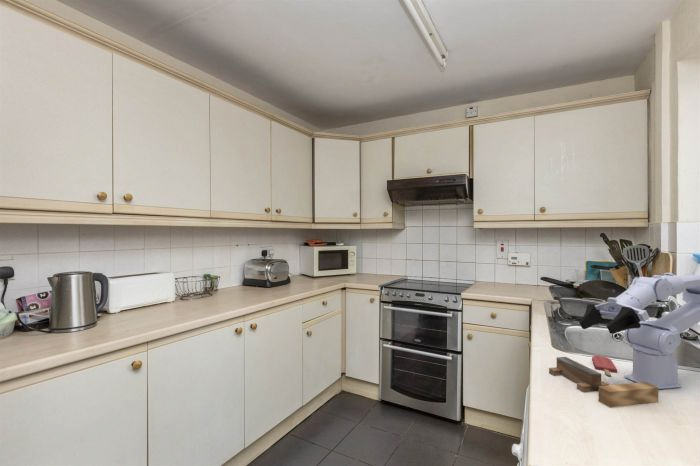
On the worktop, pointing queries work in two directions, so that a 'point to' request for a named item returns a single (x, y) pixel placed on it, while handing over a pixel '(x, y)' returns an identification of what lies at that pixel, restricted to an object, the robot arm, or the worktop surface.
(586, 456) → the worktop surface
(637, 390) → the oak bar
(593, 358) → the popsicle
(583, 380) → the ridge
